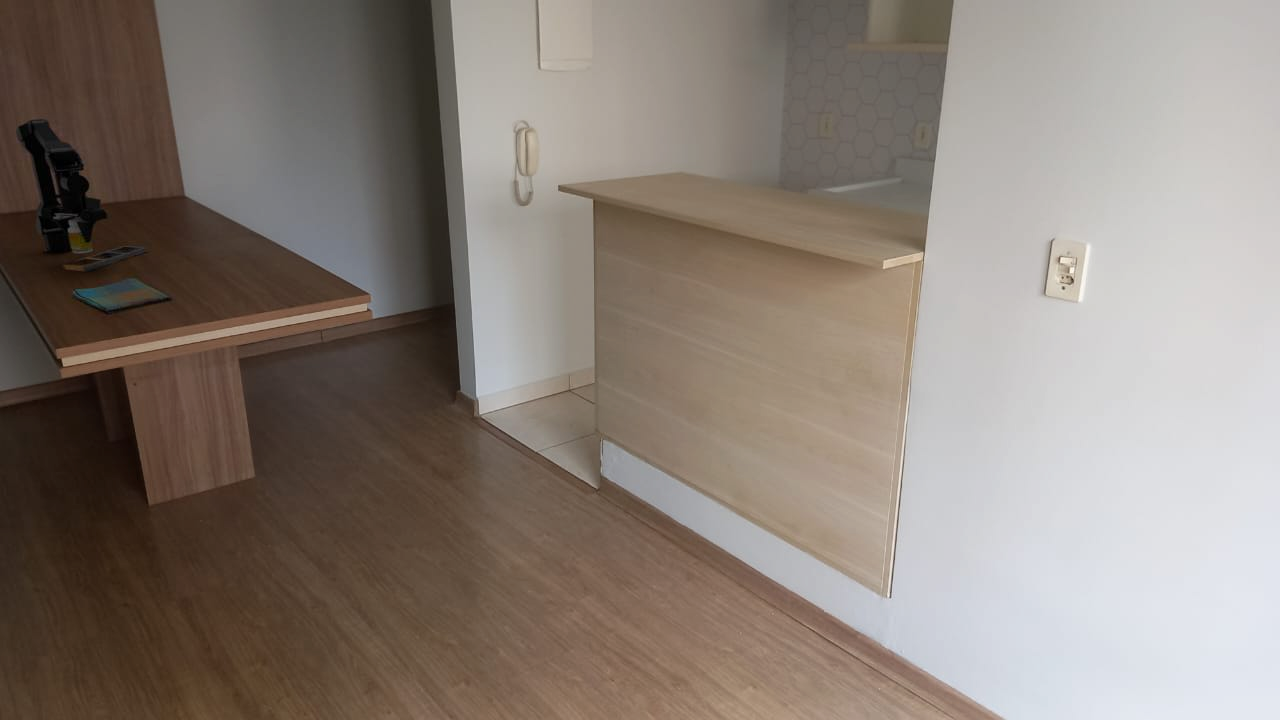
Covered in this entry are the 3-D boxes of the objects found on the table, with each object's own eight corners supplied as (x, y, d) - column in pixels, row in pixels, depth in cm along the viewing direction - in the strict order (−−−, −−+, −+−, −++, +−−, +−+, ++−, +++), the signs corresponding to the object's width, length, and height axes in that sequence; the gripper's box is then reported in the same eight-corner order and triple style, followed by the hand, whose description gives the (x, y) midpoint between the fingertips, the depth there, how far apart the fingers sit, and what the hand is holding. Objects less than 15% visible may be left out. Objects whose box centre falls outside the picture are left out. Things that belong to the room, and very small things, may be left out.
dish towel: (138, 285, 259) (136, 276, 258) (174, 301, 245) (172, 292, 244) (72, 298, 247) (70, 289, 246) (106, 317, 232) (104, 307, 231)
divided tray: (63, 269, 271) (62, 264, 271) (125, 250, 293) (124, 245, 292) (86, 271, 269) (85, 266, 269) (147, 252, 291) (146, 247, 290)
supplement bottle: (83, 254, 270) (76, 222, 266) (68, 253, 271) (61, 221, 267) (97, 249, 275) (90, 218, 271) (82, 248, 276) (75, 217, 272)
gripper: (116, 187, 271) (127, 238, 276) (66, 183, 275) (78, 233, 281) (86, 193, 261) (97, 246, 266) (34, 189, 265) (47, 241, 271)
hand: (80, 241), depth 272 cm, fingers closed on supplement bottle, 5 cm apart
